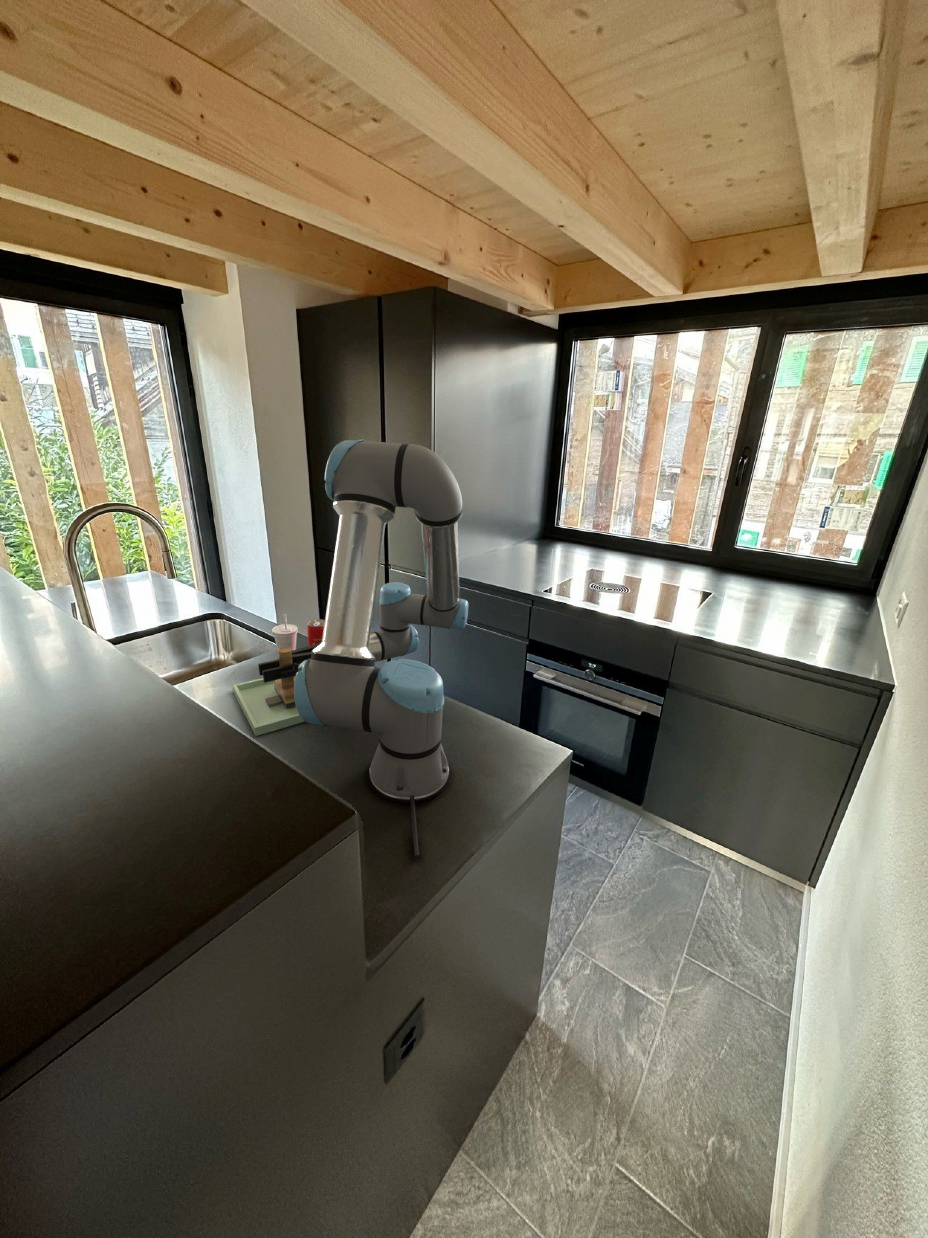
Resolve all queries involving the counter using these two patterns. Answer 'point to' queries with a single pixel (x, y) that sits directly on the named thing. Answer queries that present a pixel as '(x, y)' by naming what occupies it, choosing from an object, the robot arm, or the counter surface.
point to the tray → (264, 707)
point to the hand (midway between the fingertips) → (261, 673)
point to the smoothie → (285, 635)
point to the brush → (285, 679)
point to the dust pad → (273, 701)
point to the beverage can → (315, 631)
